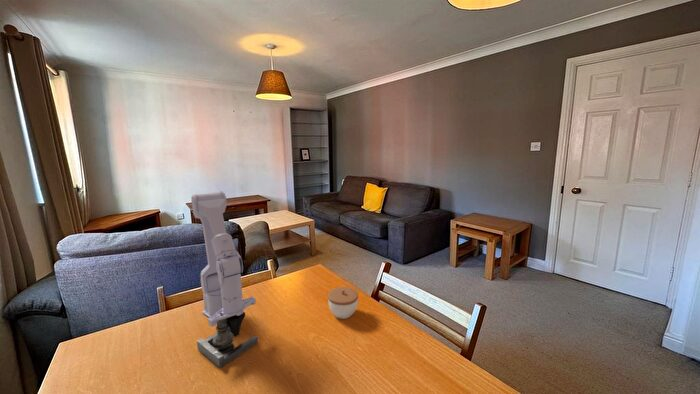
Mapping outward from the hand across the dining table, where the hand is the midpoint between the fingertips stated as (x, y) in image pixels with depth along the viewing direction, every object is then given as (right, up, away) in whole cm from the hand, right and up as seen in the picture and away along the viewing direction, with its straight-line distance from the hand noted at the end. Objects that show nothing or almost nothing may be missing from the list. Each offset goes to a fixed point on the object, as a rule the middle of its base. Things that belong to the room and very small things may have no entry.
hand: (235, 334), depth 88 cm
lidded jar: (+33, 0, +15) cm, 36 cm away
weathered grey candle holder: (-2, -3, -3) cm, 5 cm away
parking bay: (-1, -3, -1) cm, 3 cm away
